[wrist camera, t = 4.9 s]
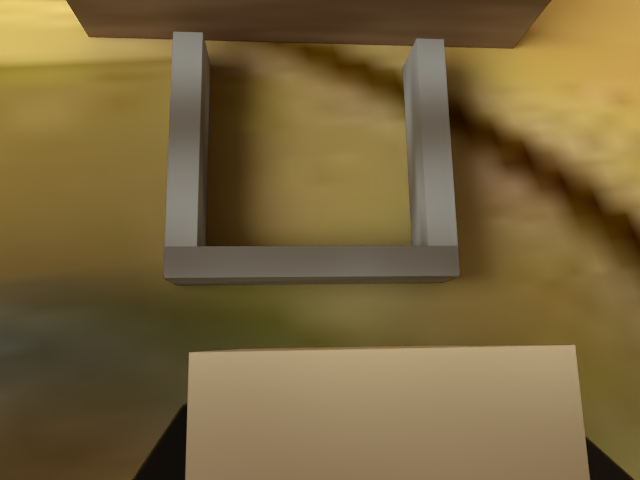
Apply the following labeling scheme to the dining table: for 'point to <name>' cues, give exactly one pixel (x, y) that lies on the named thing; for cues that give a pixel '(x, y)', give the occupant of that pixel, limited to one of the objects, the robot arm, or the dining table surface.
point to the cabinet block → (386, 414)
